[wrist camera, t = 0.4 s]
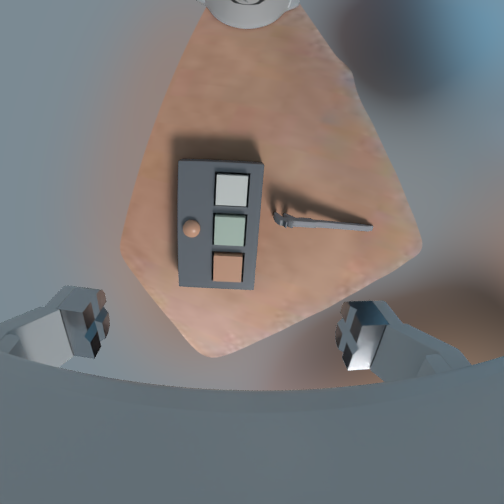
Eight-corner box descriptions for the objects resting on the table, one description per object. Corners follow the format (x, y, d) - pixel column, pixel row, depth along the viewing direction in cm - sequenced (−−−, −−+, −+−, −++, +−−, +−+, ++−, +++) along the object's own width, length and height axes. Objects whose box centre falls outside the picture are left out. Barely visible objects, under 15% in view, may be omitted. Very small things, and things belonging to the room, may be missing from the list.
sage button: (216, 211, 53) (215, 216, 50) (244, 213, 53) (245, 218, 50) (215, 238, 55) (214, 244, 52) (242, 240, 55) (243, 246, 52)
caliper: (272, 216, 56) (276, 227, 50) (273, 211, 56) (277, 221, 50) (371, 230, 58) (384, 241, 52) (372, 225, 57) (385, 235, 52)
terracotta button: (214, 249, 55) (213, 255, 53) (242, 250, 56) (242, 257, 53) (214, 273, 57) (213, 281, 54) (240, 275, 58) (240, 282, 55)
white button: (218, 172, 50) (216, 174, 47) (247, 174, 50) (248, 176, 48) (216, 200, 52) (215, 204, 49) (245, 202, 52) (246, 206, 50)
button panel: (182, 158, 51) (177, 161, 46) (262, 162, 52) (264, 165, 47) (182, 276, 59) (178, 287, 55) (252, 279, 60) (253, 291, 56)
